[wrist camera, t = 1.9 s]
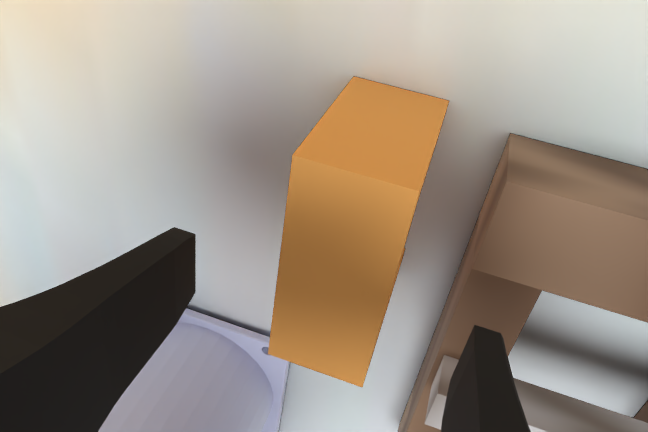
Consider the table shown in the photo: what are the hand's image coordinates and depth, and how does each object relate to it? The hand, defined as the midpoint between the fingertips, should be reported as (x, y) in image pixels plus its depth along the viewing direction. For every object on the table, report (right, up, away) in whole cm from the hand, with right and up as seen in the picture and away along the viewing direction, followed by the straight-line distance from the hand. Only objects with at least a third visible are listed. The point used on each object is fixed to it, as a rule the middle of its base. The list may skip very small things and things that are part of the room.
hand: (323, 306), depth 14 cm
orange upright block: (+2, +3, +5) cm, 6 cm away
